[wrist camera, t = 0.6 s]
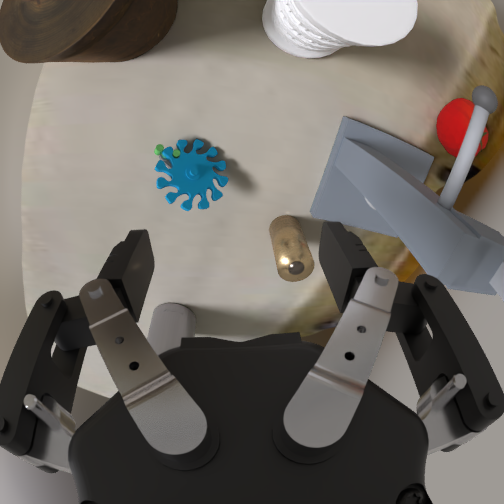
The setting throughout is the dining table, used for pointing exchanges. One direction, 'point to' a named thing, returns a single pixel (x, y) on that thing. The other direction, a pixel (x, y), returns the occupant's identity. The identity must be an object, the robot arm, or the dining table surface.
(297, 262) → the disc
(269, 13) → the decorative container
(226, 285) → the dining table surface
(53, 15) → the wooden container
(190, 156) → the gear
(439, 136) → the tomato
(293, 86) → the dining table surface
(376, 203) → the press
